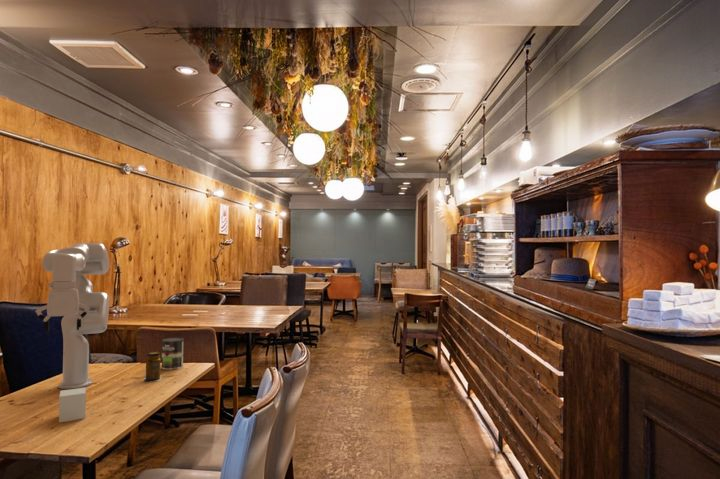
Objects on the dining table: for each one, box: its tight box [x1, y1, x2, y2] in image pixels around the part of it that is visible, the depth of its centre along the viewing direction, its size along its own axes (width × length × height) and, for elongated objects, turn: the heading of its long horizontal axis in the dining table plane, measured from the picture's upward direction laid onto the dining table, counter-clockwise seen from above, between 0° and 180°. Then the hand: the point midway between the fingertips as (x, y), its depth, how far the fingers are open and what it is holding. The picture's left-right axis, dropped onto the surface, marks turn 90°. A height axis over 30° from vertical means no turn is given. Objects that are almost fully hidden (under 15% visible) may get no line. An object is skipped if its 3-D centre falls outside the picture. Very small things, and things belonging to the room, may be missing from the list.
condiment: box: [143, 351, 162, 383], centre depth 205 cm, size 7×8×12 cm
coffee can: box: [160, 337, 185, 371], centre depth 227 cm, size 10×10×14 cm
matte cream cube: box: [58, 386, 87, 424], centre depth 158 cm, size 8×8×9 cm
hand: (62, 330), depth 171 cm, fingers open, 9 cm apart
